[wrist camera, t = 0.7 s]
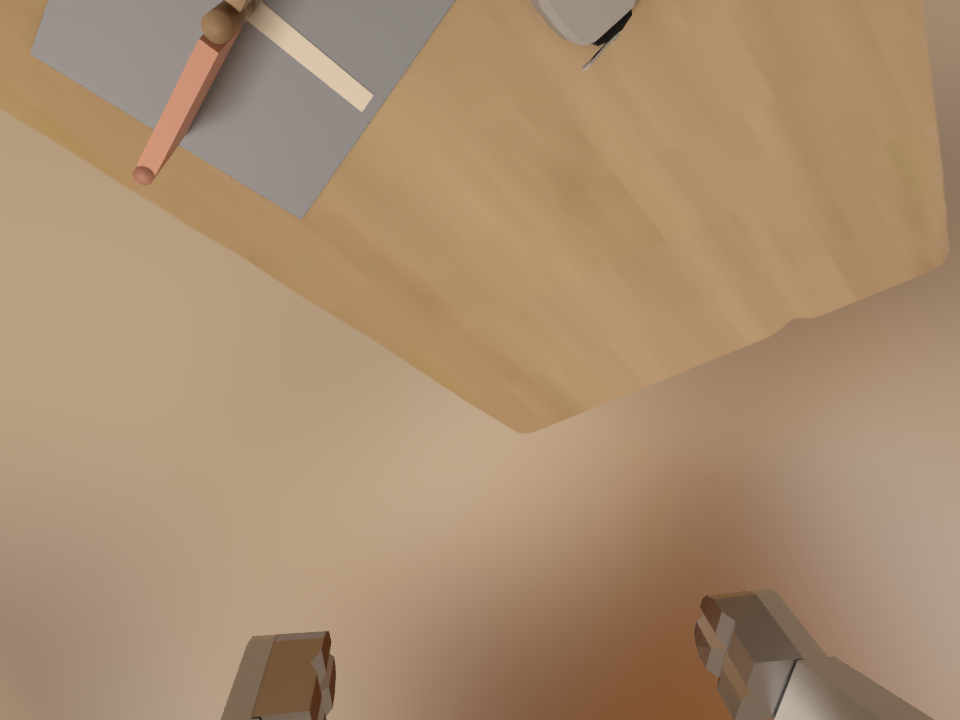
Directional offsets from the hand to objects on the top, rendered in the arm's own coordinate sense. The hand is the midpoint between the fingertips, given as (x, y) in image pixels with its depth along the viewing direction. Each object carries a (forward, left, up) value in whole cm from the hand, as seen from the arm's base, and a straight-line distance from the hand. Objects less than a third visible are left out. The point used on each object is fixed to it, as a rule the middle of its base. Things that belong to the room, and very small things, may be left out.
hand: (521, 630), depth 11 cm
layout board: (-11, -4, -45) cm, 46 cm away
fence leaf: (-12, -10, -45) cm, 47 cm away
